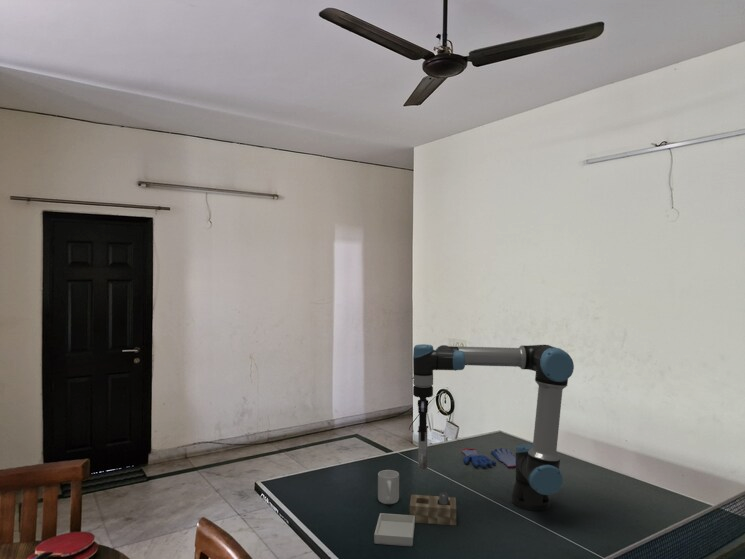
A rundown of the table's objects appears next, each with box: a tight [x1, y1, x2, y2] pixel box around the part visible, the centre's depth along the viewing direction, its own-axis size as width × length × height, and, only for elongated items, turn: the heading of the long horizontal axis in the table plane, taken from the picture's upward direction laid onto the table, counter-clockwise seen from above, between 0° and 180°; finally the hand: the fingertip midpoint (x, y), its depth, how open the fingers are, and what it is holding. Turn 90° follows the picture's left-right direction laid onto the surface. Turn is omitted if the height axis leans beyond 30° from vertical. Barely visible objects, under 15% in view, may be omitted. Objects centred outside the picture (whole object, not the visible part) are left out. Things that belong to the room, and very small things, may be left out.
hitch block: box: [409, 494, 457, 526], centre depth 187 cm, size 17×10×6 cm, turn 82°
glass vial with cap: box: [417, 425, 428, 470], centre depth 187 cm, size 3×3×16 cm
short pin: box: [438, 492, 449, 505], centre depth 186 cm, size 3×3×9 cm
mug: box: [377, 469, 400, 505], centre depth 200 cm, size 9×12×11 cm
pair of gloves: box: [461, 447, 516, 470], centre depth 249 cm, size 32×26×4 cm
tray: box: [373, 512, 416, 547], centre depth 174 cm, size 13×16×3 cm
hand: (422, 447), depth 187 cm, fingers closed on glass vial with cap, 3 cm apart
